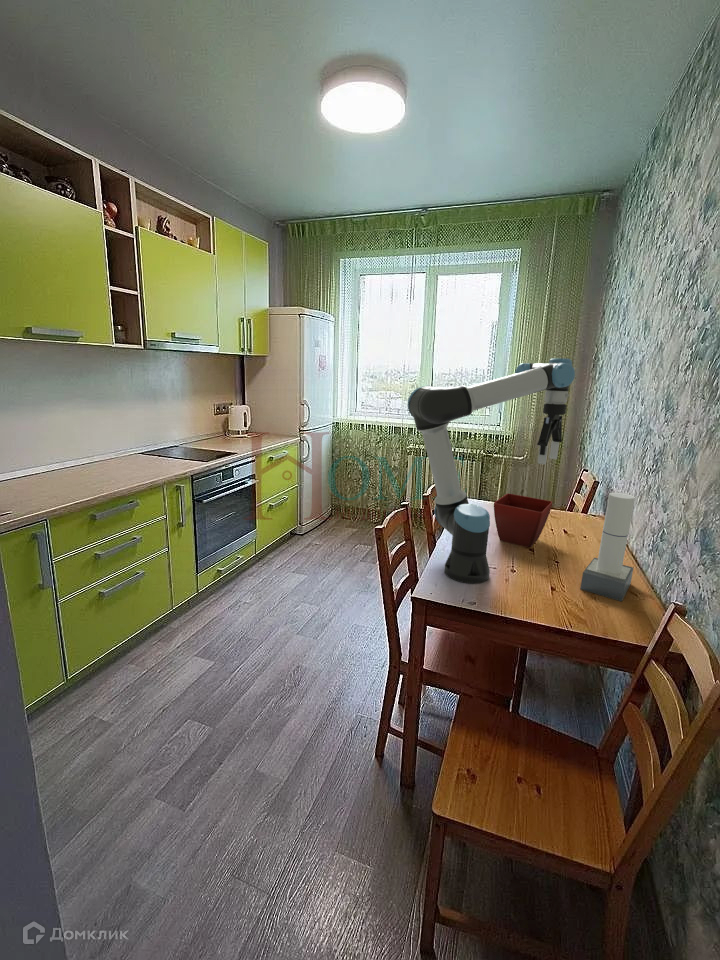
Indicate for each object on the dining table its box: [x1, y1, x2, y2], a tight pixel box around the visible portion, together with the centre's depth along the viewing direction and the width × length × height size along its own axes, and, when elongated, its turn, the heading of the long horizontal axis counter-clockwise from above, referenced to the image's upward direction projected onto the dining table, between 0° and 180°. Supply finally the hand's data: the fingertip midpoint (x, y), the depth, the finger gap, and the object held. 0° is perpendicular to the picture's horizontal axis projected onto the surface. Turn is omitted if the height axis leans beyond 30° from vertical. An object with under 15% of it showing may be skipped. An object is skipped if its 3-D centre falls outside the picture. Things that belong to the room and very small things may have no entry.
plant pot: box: [493, 493, 553, 548], centre depth 184 cm, size 19×19×17 cm
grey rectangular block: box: [579, 557, 634, 603], centre depth 146 cm, size 16×12×6 cm
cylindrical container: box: [597, 492, 636, 574], centre depth 143 cm, size 7×7×25 cm
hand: (547, 461), depth 164 cm, fingers open, 13 cm apart
